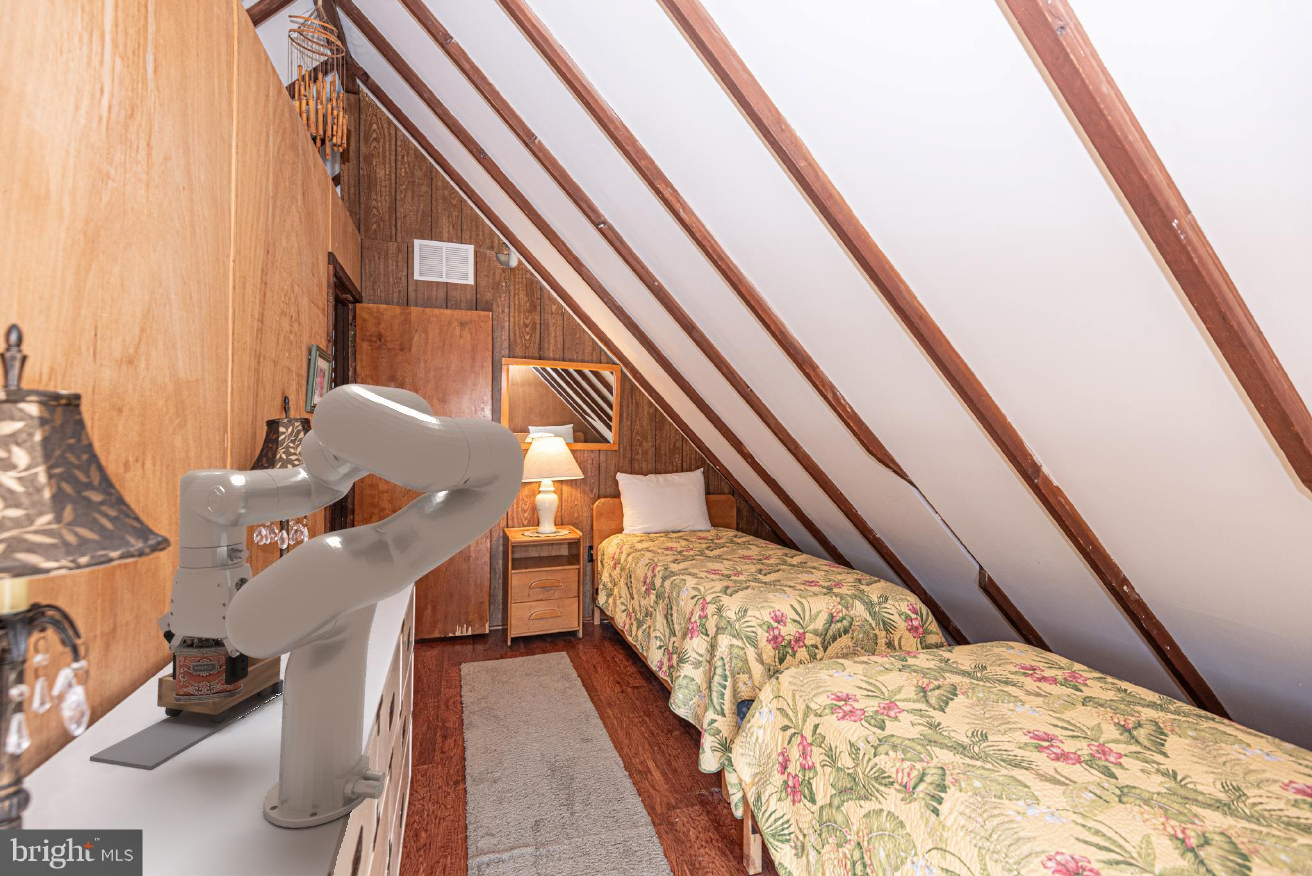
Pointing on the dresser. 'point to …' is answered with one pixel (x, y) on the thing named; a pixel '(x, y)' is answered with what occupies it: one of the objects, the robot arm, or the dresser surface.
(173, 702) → the cart
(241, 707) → the track
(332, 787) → the robot arm
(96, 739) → the dresser surface
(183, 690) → the lighter
